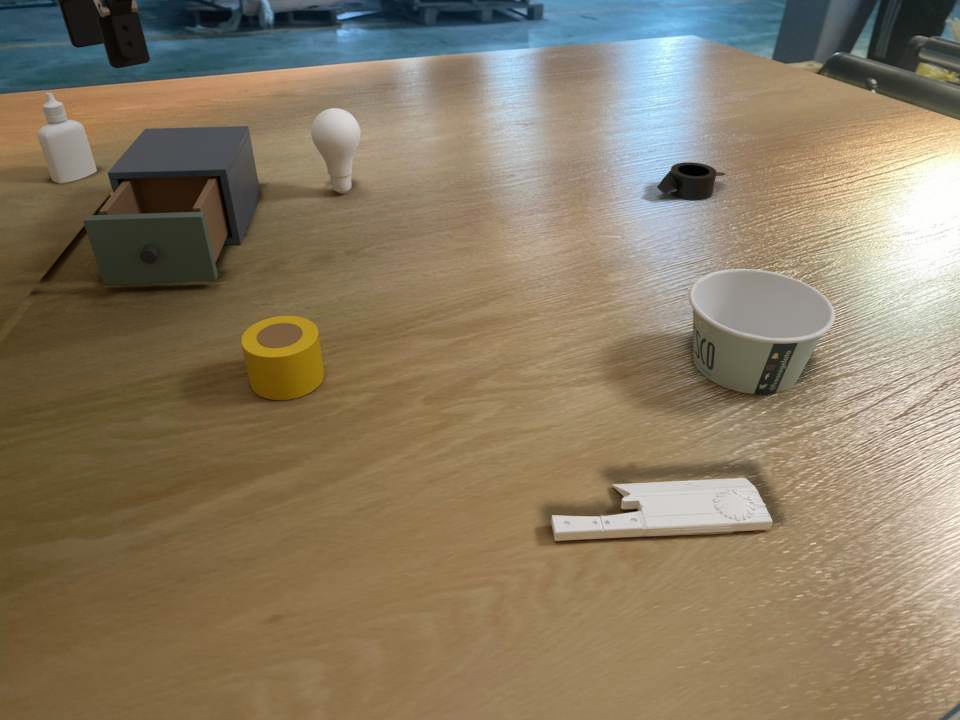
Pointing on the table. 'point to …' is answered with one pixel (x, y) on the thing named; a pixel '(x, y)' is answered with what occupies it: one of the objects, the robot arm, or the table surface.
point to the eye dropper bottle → (64, 144)
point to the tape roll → (283, 357)
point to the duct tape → (690, 181)
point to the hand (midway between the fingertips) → (110, 54)
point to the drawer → (160, 231)
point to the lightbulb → (337, 144)
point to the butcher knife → (673, 511)
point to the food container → (756, 328)
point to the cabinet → (198, 165)
